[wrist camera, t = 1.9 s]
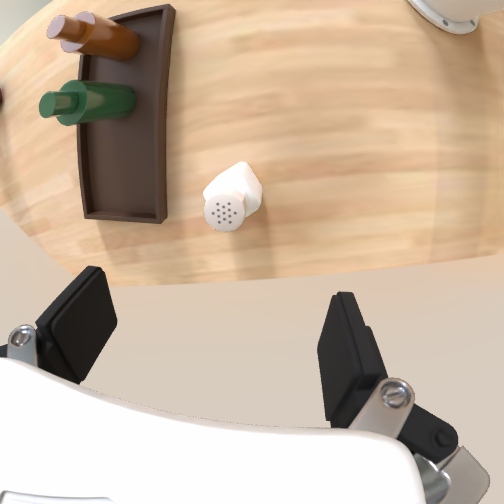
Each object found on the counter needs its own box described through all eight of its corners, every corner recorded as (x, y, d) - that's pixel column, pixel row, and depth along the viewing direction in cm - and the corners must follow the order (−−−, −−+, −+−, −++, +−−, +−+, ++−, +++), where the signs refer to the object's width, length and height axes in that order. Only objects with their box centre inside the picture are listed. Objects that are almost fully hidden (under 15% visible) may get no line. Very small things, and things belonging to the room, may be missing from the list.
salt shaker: (214, 177, 29) (188, 204, 20) (245, 158, 27) (231, 177, 19) (234, 207, 30) (217, 245, 22) (265, 189, 29) (260, 222, 20)
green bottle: (106, 86, 23) (32, 86, 13) (137, 81, 23) (66, 73, 13) (105, 120, 25) (31, 134, 15) (135, 117, 25) (64, 126, 15)
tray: (93, 29, 20) (84, 26, 18) (175, 9, 19) (169, 3, 18) (93, 213, 32) (84, 218, 30) (167, 217, 31) (160, 224, 29)
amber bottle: (111, 34, 20) (43, 15, 9) (142, 27, 20) (79, -3, 9) (108, 65, 22) (35, 56, 11) (139, 59, 22) (70, 40, 11)
